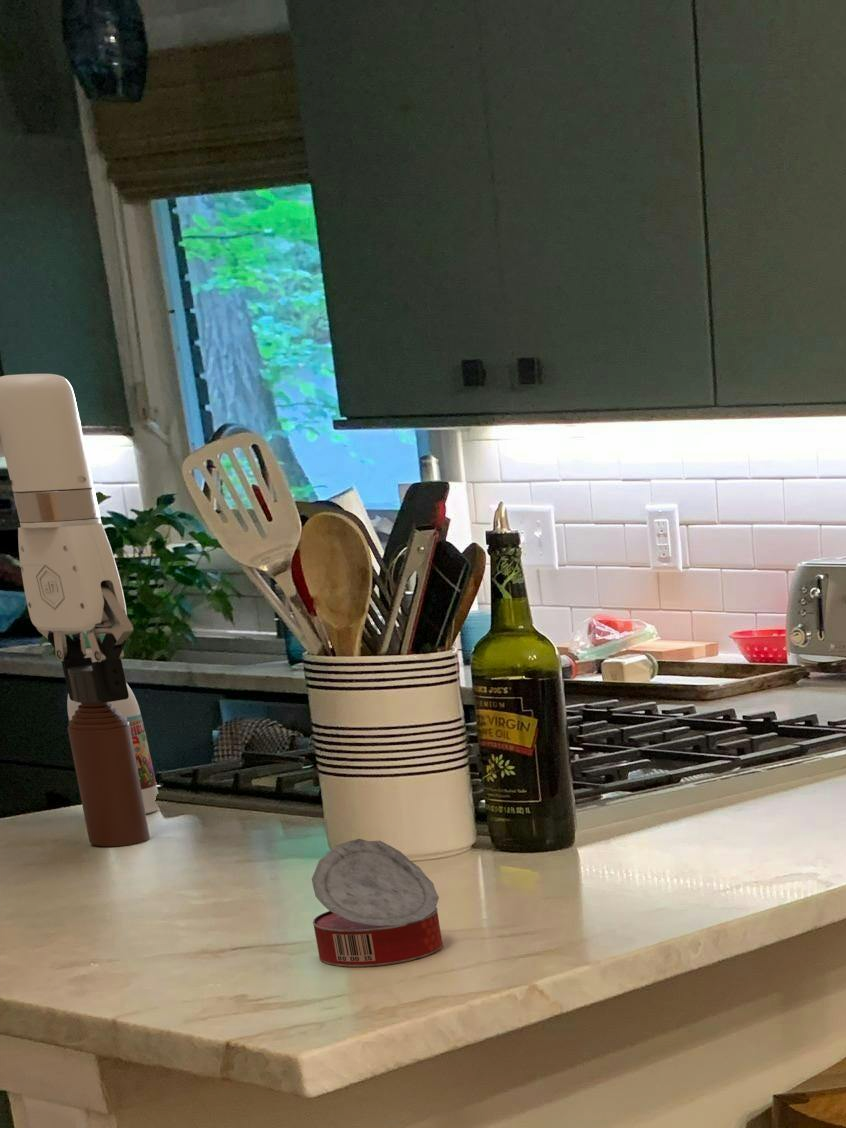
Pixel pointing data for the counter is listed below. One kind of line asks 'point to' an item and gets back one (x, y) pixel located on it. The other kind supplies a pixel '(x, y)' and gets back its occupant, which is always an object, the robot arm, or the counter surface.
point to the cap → (83, 684)
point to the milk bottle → (140, 744)
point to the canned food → (374, 907)
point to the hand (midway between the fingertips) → (99, 697)
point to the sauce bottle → (107, 776)
